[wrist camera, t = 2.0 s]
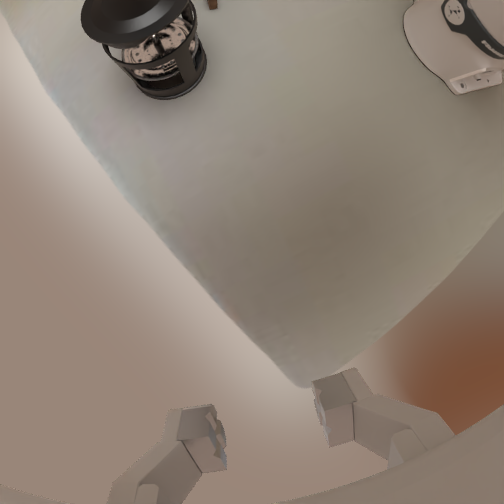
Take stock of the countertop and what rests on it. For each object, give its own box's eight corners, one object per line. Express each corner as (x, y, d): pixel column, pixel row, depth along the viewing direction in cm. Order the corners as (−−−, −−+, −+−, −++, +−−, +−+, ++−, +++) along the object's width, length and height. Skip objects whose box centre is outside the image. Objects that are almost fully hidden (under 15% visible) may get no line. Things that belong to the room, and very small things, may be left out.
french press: (226, 65, 32) (227, -59, 10) (171, 117, 34) (97, 38, 11) (163, 18, 30) (115, -98, 8) (111, 67, 31) (15, -18, 9)
